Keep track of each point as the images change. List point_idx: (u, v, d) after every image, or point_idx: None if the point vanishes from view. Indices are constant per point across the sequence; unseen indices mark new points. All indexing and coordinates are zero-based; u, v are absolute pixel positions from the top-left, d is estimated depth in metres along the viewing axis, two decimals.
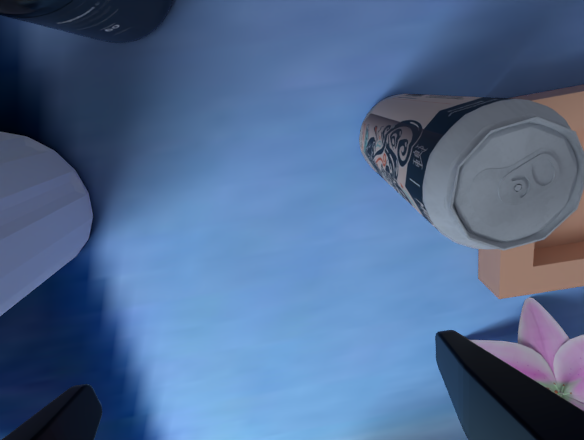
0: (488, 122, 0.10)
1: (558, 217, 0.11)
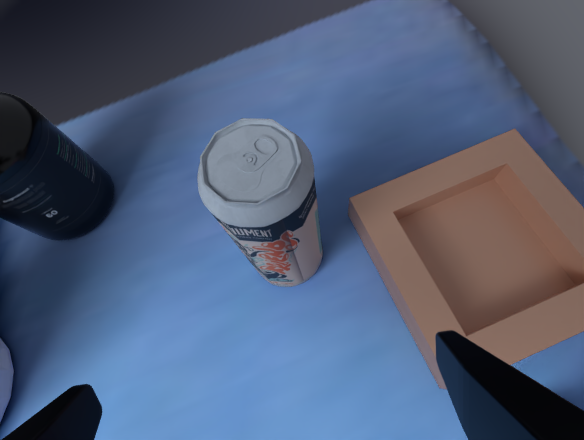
0: None
1: None
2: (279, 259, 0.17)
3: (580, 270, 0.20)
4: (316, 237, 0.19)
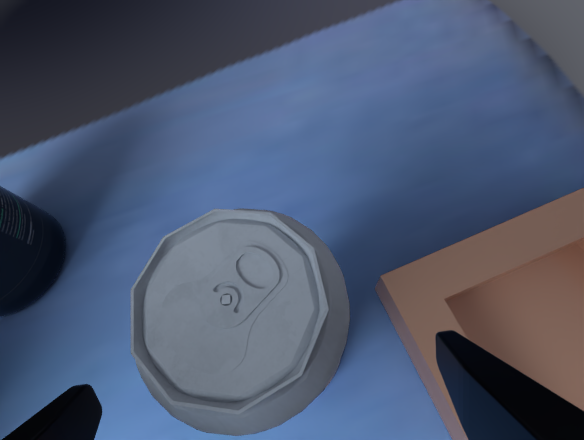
0: None
1: (316, 333, 0.06)
2: None
3: None
4: None
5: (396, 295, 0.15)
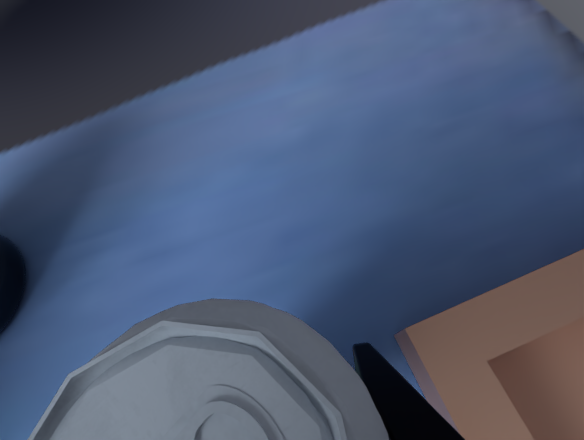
0: None
1: None
2: None
3: None
4: None
5: (425, 355, 0.12)
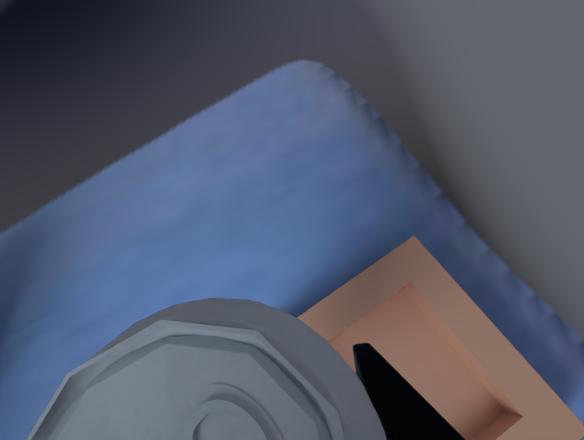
0: (98, 356, 0.05)
1: None
2: None
3: (505, 402, 0.18)
4: None
5: None
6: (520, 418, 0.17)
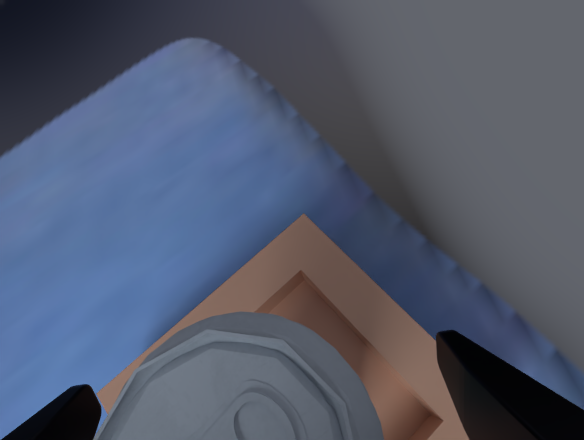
0: (154, 357, 0.06)
1: None
2: None
3: (425, 404, 0.14)
4: None
5: None
6: (440, 423, 0.13)
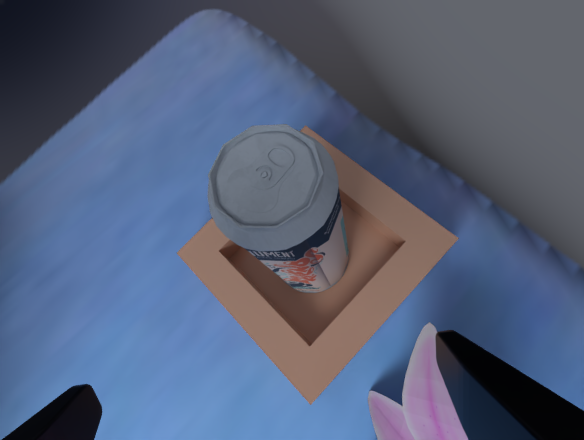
0: None
1: None
2: (303, 273, 0.16)
3: (395, 238, 0.21)
4: (342, 244, 0.17)
5: (189, 261, 0.22)
6: (404, 243, 0.20)
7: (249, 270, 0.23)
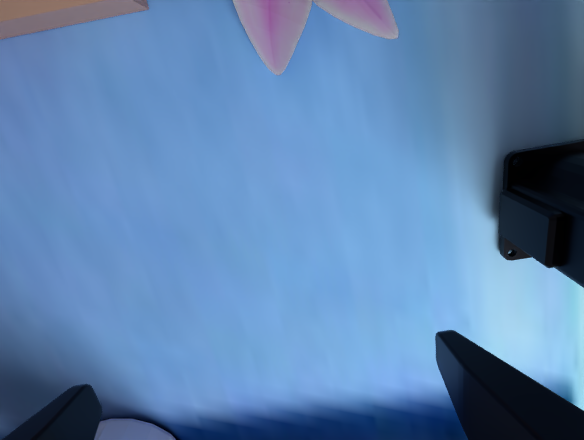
0: None
1: None
2: None
3: None
4: None
5: None
6: None
7: None
